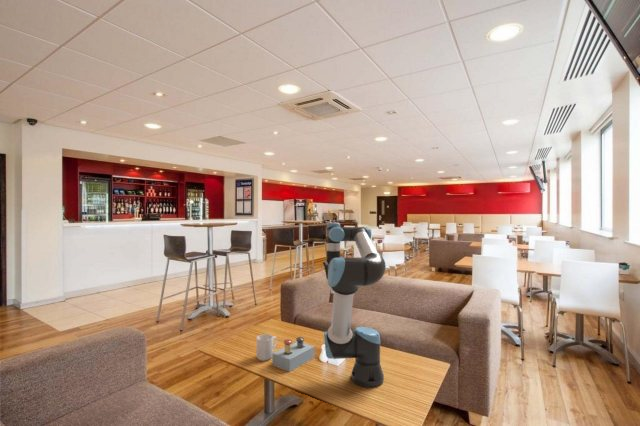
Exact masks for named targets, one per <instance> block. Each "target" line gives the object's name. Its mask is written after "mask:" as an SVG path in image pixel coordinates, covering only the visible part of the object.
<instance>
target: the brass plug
mask: <svg viewBox="0 0 640 426" xmlns="http://www.w3.org/2000/svg"><path fill="white" fill-rule="evenodd" d="M283 344H284V348H285V354H286V355H290V354H291V344H293V343H292V339H284V340H283Z"/></svg>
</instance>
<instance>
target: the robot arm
mask: <svg viewBox="0 0 640 426" xmlns="http://www.w3.org/2000/svg"><path fill="white" fill-rule="evenodd" d="M371 229H372V228H370V227H367V226H341V224H340V223H339V222H328V223H327V225H326V260H325V261H323V262H322V265H323V267H324V272H325V277H326V280H327V283H328V284H327V285H328V286H329V287H330V294H333V299H332V312H331V314H332V315H331V325H330V326H329V328H328V329H327V331H325V332H324V333H323V339H324V340H323V341H324V348H325V356H326V358H327V359H333V360H336V359H338V360H339V359H355V360H354V365H353V367H352V370H351V381H352V382H353V383H354V384H355V385H358V386H361V387H365V388H375V386H376V387H379V386H381V385H382V384H383V383H384V382H383V381H384V380H385V376H384V372H383V369H382V365H381V336H380V333H379V332H378V331H377V330H376V329H374V328H371V327H367V326H358V327H355V329H354V331H352V329H351V321H352V315H353V304H354V303H353V302H354V296H355V294H356V293H357V292H358V290H359V287H370V286H374V285H375V284H376V283H378V282H379V281H380V280H382V278H383V277H384V275H385V272H386V269H387V266H386V262H385V258H384V257H383V255H381V254H380V253H378V250H377V249H376V247H375V245H374V243H373V242H372V230H371ZM341 242H354V243H355V245H356V247H357V249H358V252H359V254H360V257H344V256H341V251H340V250H341Z"/></svg>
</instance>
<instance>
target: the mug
mask: <svg viewBox="0 0 640 426" xmlns="http://www.w3.org/2000/svg"><path fill="white" fill-rule="evenodd" d="M277 338H278V337H277V336H273V335H272V334H269V333H268V334H267V333H265V334H261V335H258V336H256V358H257V359H258V360H259V361H263V362H266V361H269V360H271V359H272V355H273V353H274V350H275V349H276V347H277Z"/></svg>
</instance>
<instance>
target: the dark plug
mask: <svg viewBox="0 0 640 426" xmlns="http://www.w3.org/2000/svg"><path fill="white" fill-rule="evenodd" d="M304 341H305V338H304V337H302V336H300V337H299V336H298V337H296V341H295V342H297V348H299V349H301V348H303V343H304Z"/></svg>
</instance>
